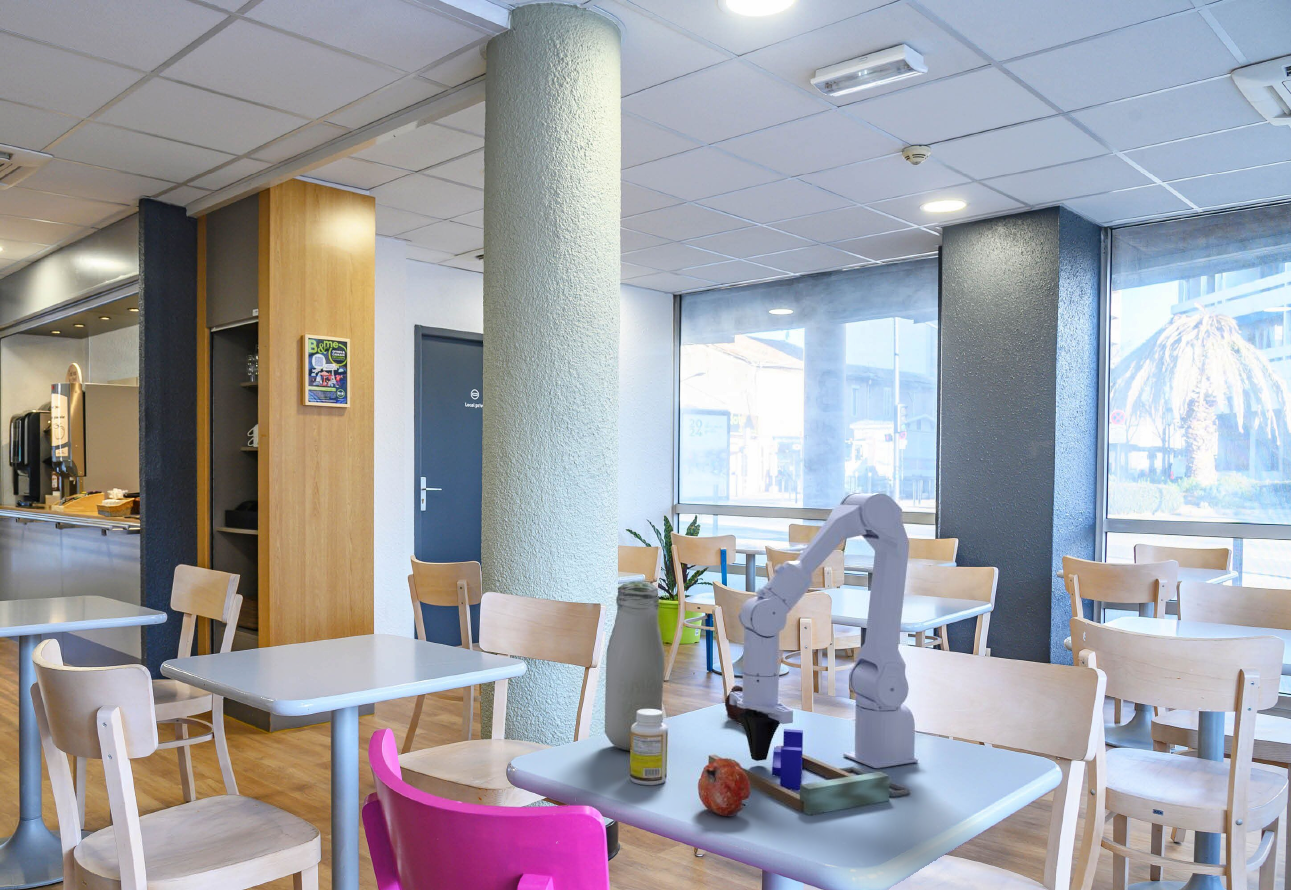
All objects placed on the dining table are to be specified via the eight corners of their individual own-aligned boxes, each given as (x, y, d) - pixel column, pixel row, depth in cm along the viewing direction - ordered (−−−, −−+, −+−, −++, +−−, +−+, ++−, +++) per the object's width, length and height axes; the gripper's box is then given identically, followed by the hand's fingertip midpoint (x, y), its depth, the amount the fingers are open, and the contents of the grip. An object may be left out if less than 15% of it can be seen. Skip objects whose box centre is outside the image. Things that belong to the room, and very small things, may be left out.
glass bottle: (610, 758, 148) (615, 584, 150) (598, 741, 158) (603, 578, 160) (669, 755, 150) (673, 584, 152) (653, 739, 160) (658, 578, 162)
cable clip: (773, 765, 147) (774, 727, 148) (802, 768, 147) (802, 730, 147) (769, 789, 136) (770, 747, 136) (800, 791, 135) (801, 750, 135)
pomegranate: (717, 816, 129) (672, 781, 125) (746, 772, 131) (703, 736, 127) (747, 840, 123) (701, 804, 119) (778, 793, 125) (733, 756, 121)
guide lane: (781, 754, 153) (782, 733, 153) (889, 800, 131) (889, 775, 132) (708, 764, 146) (708, 742, 146) (808, 815, 124) (809, 788, 124)
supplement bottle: (645, 772, 141) (647, 705, 142) (674, 780, 138) (675, 711, 138) (621, 780, 137) (623, 711, 138) (650, 789, 133) (652, 717, 134)
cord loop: (852, 770, 145) (852, 765, 145) (911, 794, 134) (911, 789, 134) (834, 772, 144) (834, 768, 144) (892, 797, 133) (892, 792, 133)
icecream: (777, 696, 168) (754, 686, 183) (739, 686, 167) (719, 677, 182) (768, 734, 167) (746, 721, 182) (730, 724, 166) (711, 712, 181)
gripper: (715, 666, 152) (713, 750, 151) (767, 683, 139) (765, 774, 138) (750, 663, 155) (748, 745, 154) (804, 680, 142) (802, 769, 142)
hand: (759, 759), depth 147 cm, fingers closed
